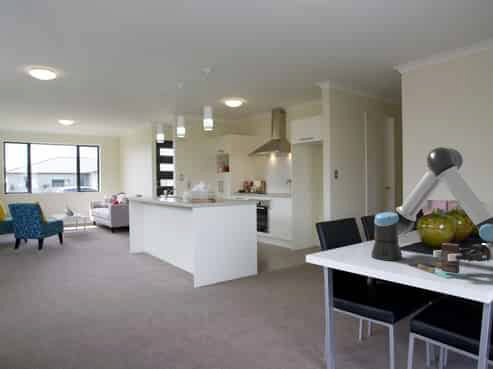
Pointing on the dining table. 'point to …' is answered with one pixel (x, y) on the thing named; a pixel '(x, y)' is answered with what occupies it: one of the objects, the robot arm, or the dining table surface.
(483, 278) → the dining table surface
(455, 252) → the box
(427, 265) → the trap track
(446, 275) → the pad
